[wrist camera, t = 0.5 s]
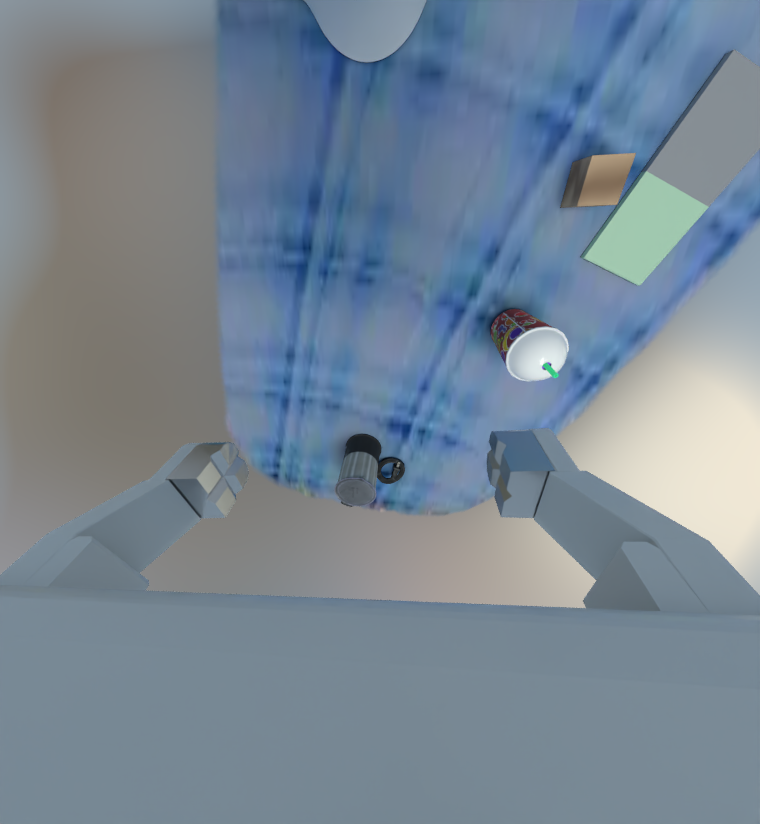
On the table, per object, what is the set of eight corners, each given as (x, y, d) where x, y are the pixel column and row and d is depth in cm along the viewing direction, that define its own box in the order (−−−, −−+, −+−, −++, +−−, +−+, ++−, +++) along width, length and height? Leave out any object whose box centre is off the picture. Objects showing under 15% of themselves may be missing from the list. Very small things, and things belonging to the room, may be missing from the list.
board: (725, 53, 32) (734, 49, 31) (794, 100, 33) (804, 97, 32) (580, 257, 44) (583, 258, 43) (635, 284, 45) (639, 285, 45)
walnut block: (572, 162, 38) (592, 155, 34) (611, 160, 37) (635, 153, 33) (559, 207, 41) (576, 206, 37) (595, 206, 40) (617, 204, 36)
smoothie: (475, 325, 51) (507, 374, 35) (517, 291, 48) (574, 329, 31) (500, 355, 54) (540, 414, 38) (540, 326, 51) (605, 377, 34)
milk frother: (345, 431, 69) (332, 476, 57) (408, 436, 68) (409, 483, 56) (347, 470, 77) (335, 517, 65) (403, 476, 76) (402, 524, 64)
